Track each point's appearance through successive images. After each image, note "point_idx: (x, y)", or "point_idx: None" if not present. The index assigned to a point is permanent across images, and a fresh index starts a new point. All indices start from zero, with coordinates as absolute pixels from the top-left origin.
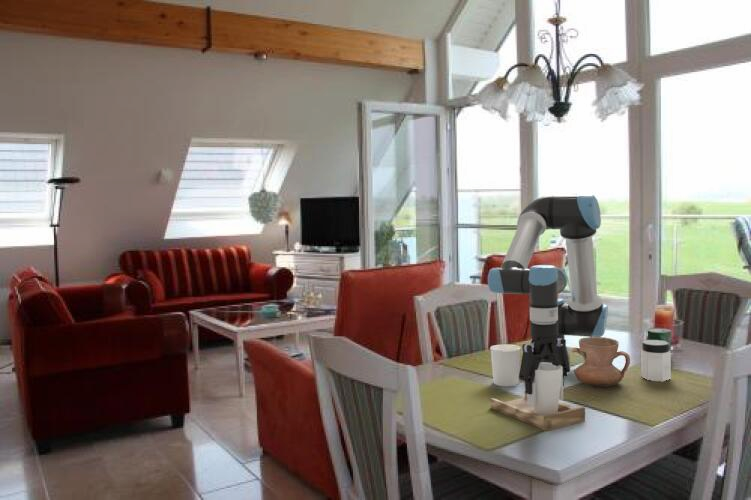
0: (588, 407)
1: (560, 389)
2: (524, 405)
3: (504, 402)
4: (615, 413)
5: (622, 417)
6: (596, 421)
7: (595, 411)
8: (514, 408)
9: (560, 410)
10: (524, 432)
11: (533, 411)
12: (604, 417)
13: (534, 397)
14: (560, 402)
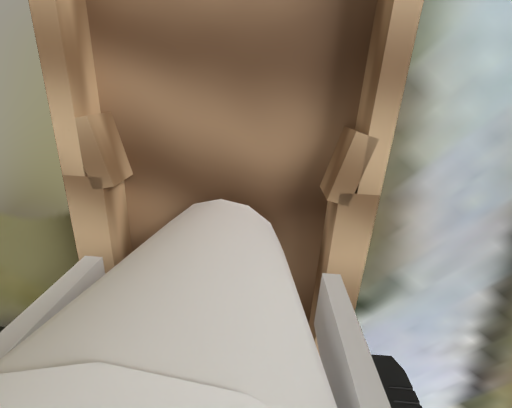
0: (507, 262)
1: (327, 378)
2: (246, 55)
3: (56, 21)
4: (496, 365)
5: (465, 397)
6: None
7: (469, 311)
8: (61, 163)
9: (320, 261)
10: (39, 296)
11: (212, 174)
12: (419, 365)
13: None
14: (361, 255)
